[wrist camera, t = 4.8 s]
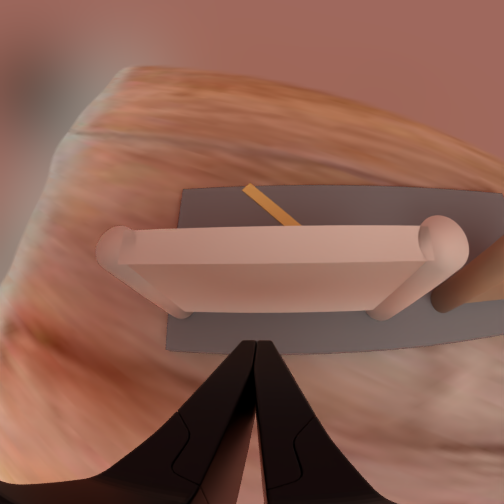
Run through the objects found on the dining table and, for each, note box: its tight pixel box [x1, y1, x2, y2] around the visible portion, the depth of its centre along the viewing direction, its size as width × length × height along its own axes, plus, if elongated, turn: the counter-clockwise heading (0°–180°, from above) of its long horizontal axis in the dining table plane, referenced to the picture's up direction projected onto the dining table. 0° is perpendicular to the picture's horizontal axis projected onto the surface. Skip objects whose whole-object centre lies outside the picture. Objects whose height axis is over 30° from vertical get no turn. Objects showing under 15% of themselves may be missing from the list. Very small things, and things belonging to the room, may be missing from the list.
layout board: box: [166, 183, 504, 355], centre depth 15 cm, size 23×10×8 cm, turn 89°
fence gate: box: [96, 215, 469, 321], centre depth 13 cm, size 12×2×8 cm, turn 89°
